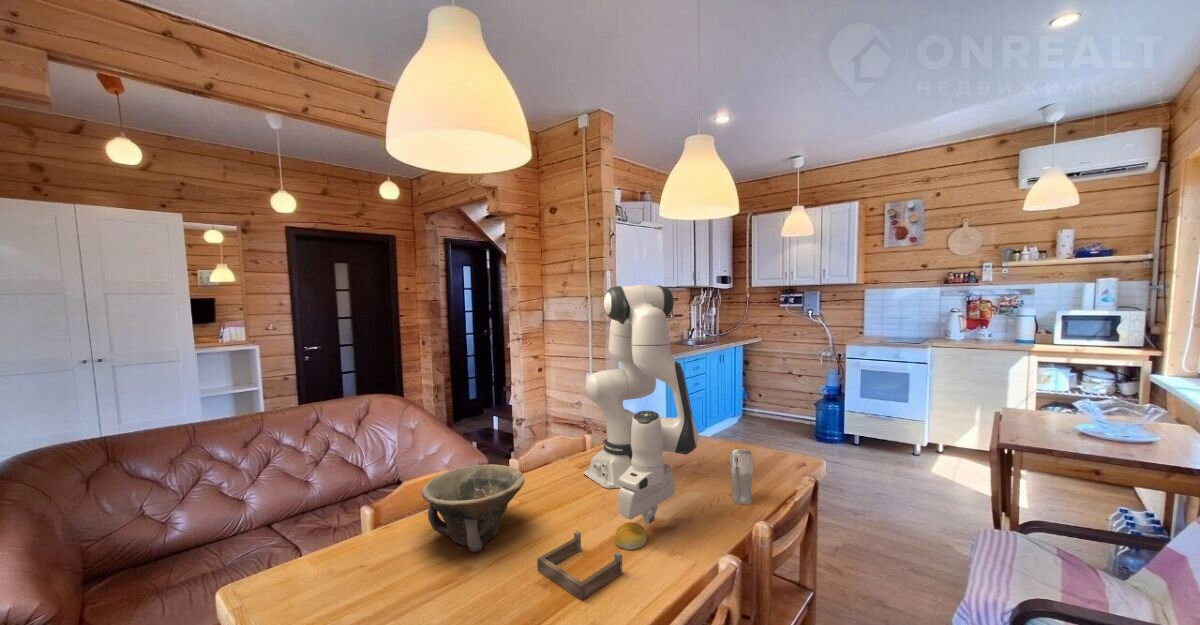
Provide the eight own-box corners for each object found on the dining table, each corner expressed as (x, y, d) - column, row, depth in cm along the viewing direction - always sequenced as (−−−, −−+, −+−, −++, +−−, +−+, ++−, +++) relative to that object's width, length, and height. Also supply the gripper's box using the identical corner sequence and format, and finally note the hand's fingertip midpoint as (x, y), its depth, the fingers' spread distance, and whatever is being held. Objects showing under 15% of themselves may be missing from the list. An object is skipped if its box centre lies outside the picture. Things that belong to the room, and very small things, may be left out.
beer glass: (755, 506, 131) (754, 456, 131) (731, 504, 133) (730, 455, 132) (752, 496, 138) (751, 448, 138) (729, 494, 139) (728, 448, 139)
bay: (537, 570, 103) (536, 552, 103) (578, 547, 112) (577, 530, 112) (581, 600, 92) (580, 580, 92) (622, 572, 101) (621, 553, 101)
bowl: (494, 501, 140) (492, 455, 139) (545, 531, 121) (543, 477, 121) (408, 535, 121) (406, 481, 121) (453, 576, 102) (450, 512, 102)
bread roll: (612, 550, 111) (612, 534, 111) (617, 531, 120) (617, 517, 120) (645, 552, 109) (645, 536, 109) (648, 533, 118) (647, 519, 118)
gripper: (661, 459, 130) (662, 505, 130) (614, 480, 115) (615, 532, 115) (679, 464, 125) (680, 512, 125) (632, 487, 111) (634, 541, 111)
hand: (649, 522), depth 120 cm, fingers closed
